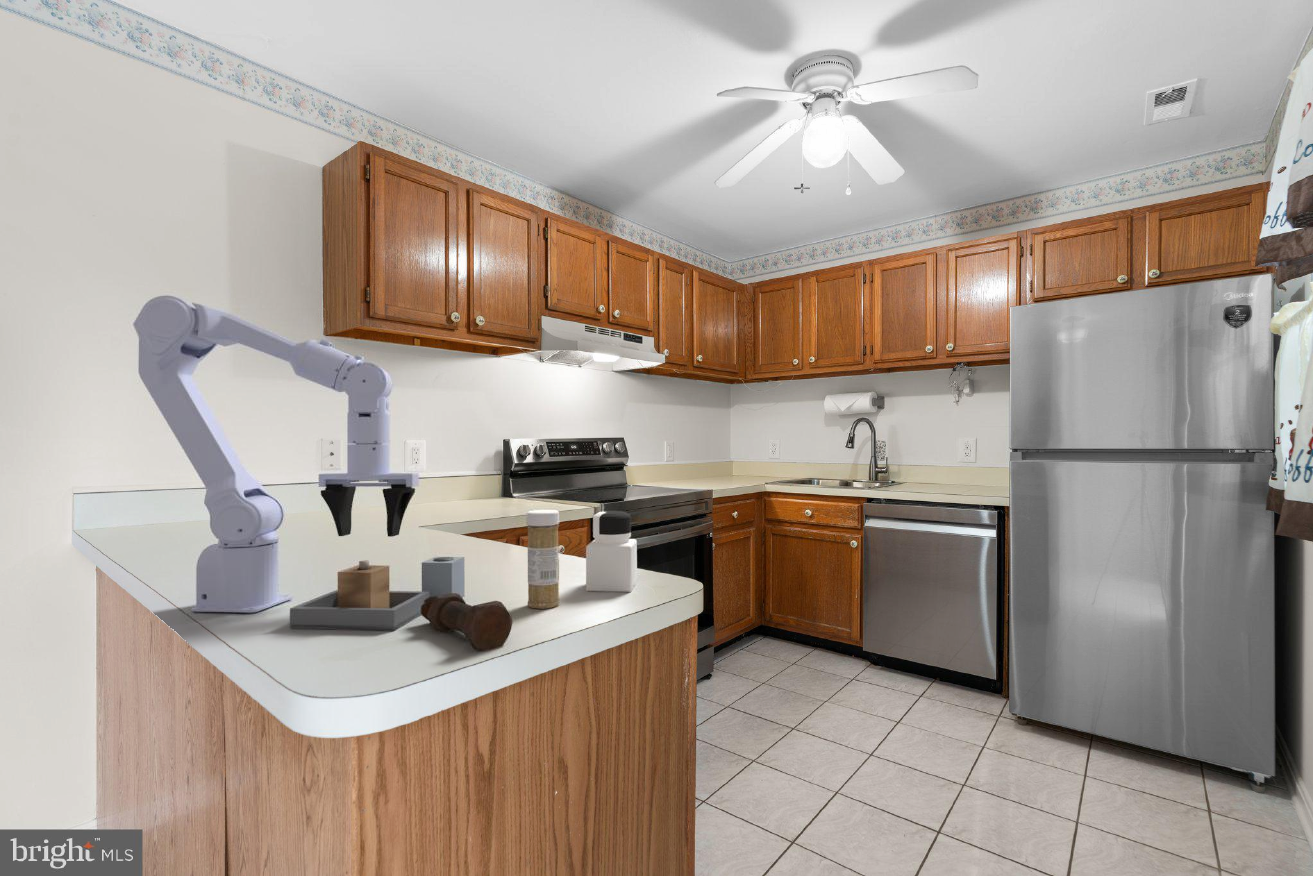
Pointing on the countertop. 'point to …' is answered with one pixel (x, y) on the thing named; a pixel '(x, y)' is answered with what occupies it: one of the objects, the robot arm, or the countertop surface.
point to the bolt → (469, 620)
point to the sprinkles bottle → (543, 559)
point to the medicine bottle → (611, 554)
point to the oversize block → (443, 576)
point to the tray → (358, 613)
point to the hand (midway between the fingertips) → (368, 535)
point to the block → (364, 586)
